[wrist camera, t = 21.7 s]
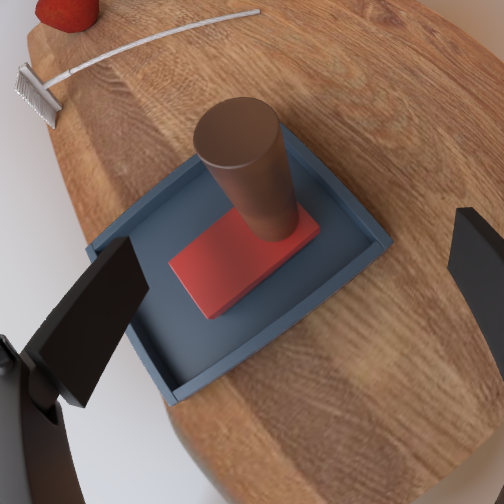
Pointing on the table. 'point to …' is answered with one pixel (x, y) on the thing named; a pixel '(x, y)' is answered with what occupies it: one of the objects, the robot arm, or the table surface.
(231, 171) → the brown cylinder on base
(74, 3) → the apple
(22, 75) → the brush
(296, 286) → the tray
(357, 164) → the table surface
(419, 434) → the table surface
